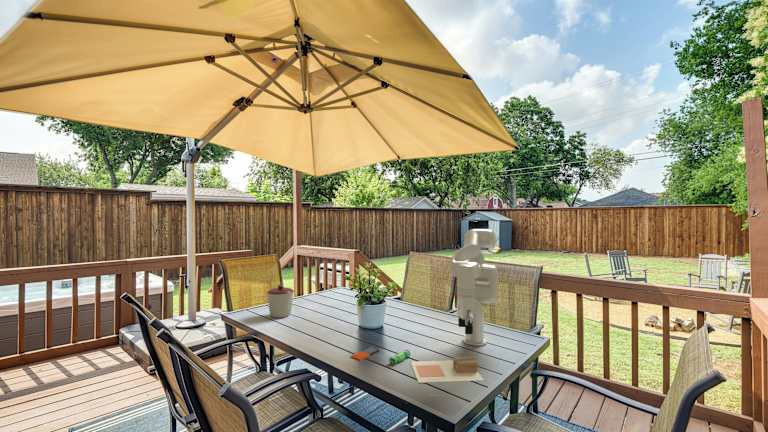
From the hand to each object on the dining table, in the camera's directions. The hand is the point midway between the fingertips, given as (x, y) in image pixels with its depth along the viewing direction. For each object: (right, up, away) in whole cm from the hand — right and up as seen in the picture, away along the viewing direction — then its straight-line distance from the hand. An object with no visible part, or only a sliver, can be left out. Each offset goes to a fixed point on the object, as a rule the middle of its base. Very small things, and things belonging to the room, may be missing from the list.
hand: (465, 330), depth 156 cm
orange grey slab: (-46, -18, +18) cm, 52 cm away
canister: (-106, -17, +80) cm, 134 cm away
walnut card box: (0, -18, 0) cm, 18 cm away
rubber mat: (-9, -18, 0) cm, 20 cm away
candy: (-29, -18, +11) cm, 36 cm away
